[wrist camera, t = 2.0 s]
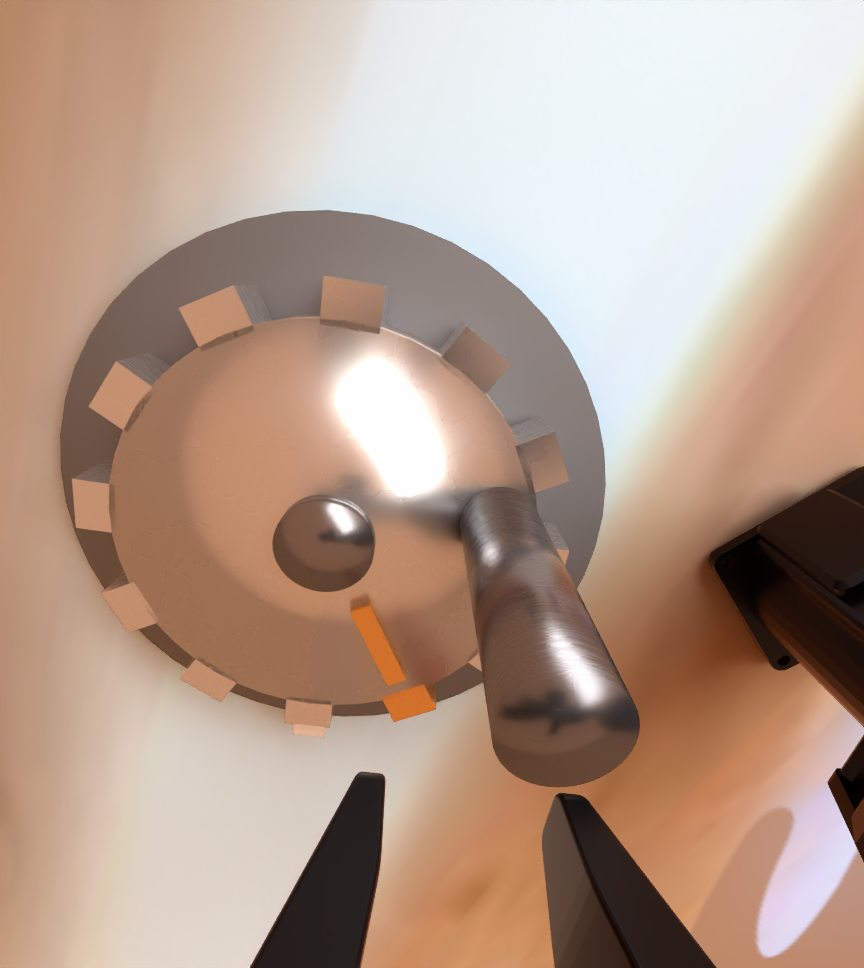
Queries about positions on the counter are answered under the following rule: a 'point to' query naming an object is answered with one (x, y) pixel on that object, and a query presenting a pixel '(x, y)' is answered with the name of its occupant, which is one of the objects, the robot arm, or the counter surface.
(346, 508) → the sprocket
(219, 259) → the stand
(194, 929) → the counter surface
